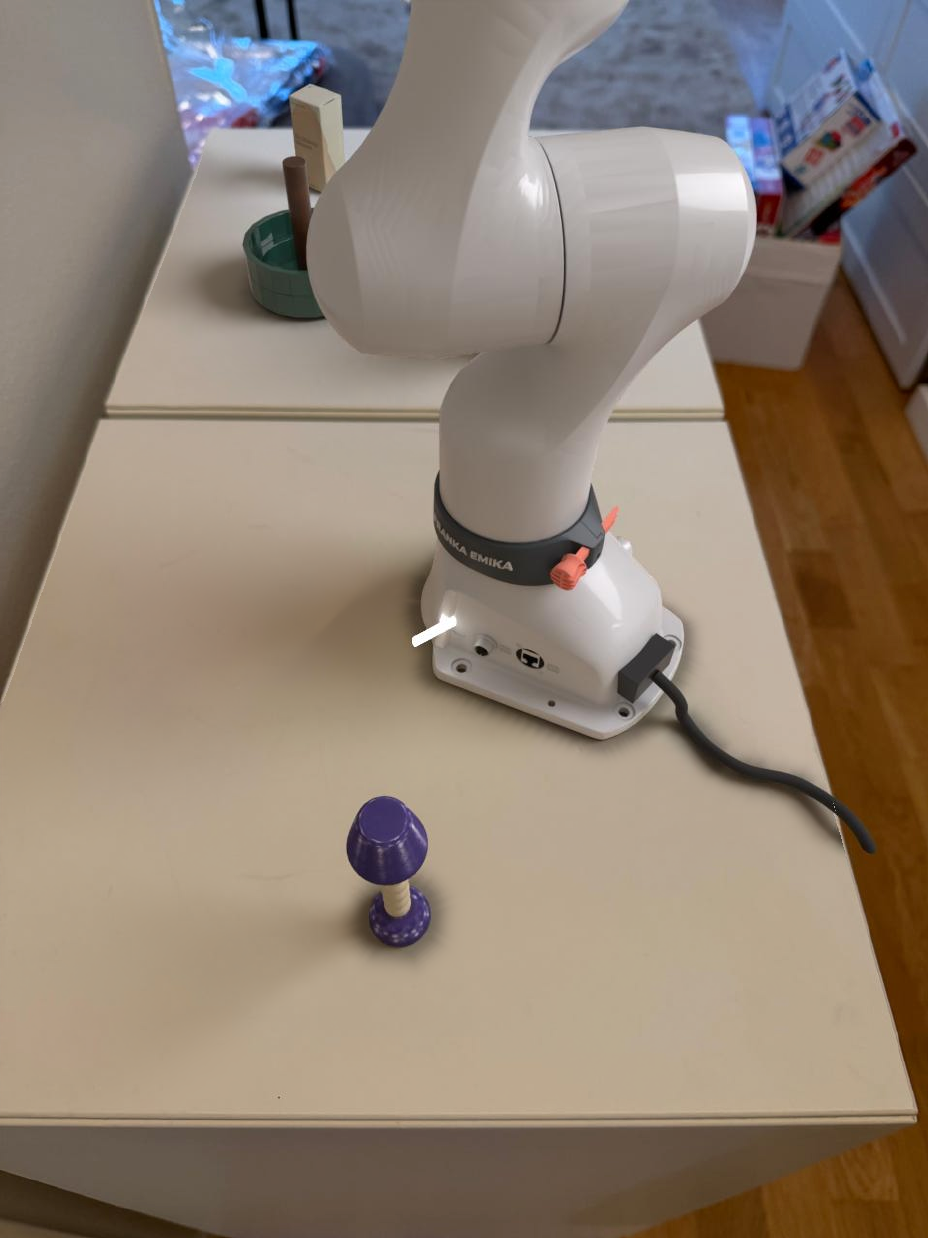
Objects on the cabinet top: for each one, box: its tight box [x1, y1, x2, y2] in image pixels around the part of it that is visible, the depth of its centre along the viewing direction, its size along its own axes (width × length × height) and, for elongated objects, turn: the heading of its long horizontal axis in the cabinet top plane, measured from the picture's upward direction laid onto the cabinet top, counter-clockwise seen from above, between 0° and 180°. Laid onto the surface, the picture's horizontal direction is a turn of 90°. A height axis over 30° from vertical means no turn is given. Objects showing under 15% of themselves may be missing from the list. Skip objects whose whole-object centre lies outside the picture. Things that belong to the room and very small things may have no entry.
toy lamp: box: [345, 795, 432, 948], centre depth 56 cm, size 5×5×17 cm
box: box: [288, 83, 346, 193], centre depth 117 cm, size 5×4×11 cm
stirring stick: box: [281, 155, 312, 271], centre depth 101 cm, size 2×2×14 cm
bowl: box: [241, 207, 325, 318], centre depth 105 cm, size 13×13×6 cm
